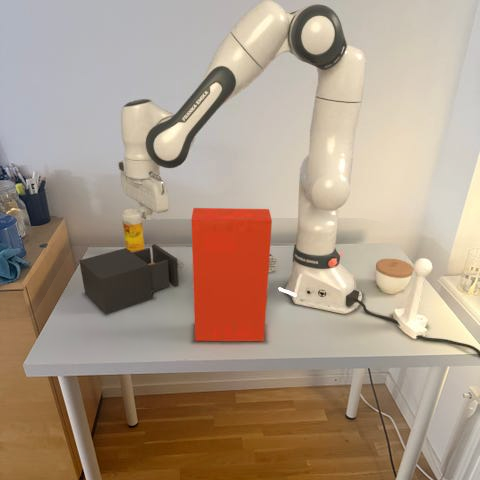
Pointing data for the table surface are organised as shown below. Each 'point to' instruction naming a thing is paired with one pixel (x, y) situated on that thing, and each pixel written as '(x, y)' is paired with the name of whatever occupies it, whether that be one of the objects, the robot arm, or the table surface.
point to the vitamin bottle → (133, 230)
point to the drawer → (161, 267)
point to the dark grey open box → (116, 280)
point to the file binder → (230, 273)
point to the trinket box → (392, 275)
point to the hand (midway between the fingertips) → (147, 218)
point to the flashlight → (272, 263)
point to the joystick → (414, 303)
